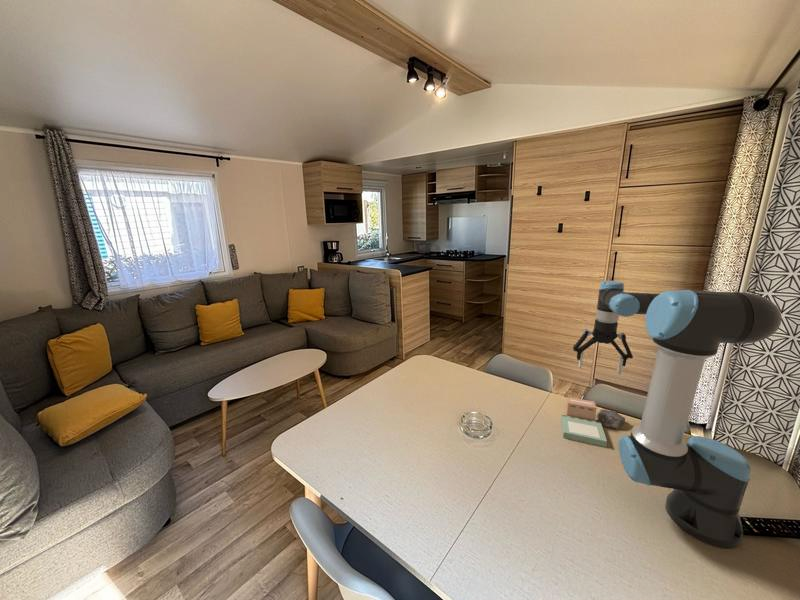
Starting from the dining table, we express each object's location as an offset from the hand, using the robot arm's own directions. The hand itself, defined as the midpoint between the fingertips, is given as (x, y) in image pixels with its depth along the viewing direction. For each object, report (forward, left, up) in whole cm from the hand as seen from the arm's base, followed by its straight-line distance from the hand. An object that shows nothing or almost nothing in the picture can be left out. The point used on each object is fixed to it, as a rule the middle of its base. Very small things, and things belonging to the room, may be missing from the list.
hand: (599, 369), depth 127 cm
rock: (-2, -6, -22) cm, 23 cm away
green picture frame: (-14, +5, -21) cm, 26 cm away
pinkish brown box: (-5, +6, -21) cm, 22 cm away
